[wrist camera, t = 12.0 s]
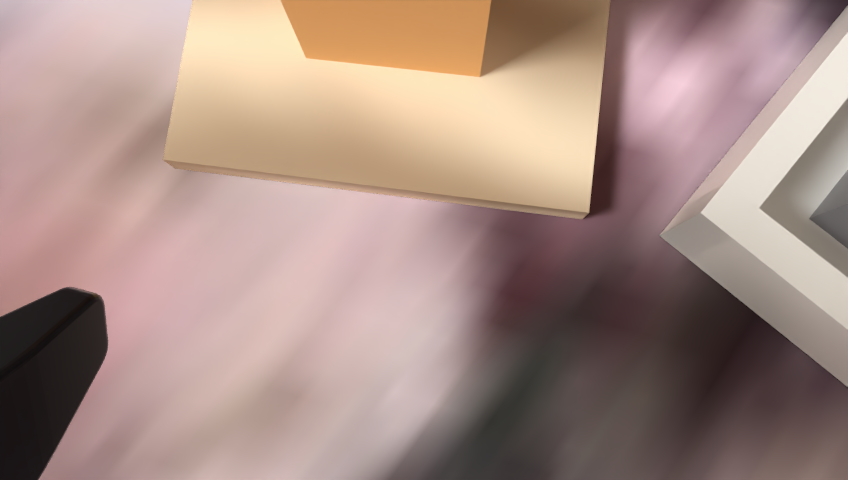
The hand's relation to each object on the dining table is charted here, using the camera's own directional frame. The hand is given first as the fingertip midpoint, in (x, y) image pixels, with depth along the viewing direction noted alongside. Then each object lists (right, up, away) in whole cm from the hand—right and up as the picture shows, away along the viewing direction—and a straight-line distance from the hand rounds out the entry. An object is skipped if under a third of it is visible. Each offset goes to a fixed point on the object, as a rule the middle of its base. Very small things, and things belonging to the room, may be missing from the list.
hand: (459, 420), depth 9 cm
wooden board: (-1, +9, +14) cm, 17 cm away
